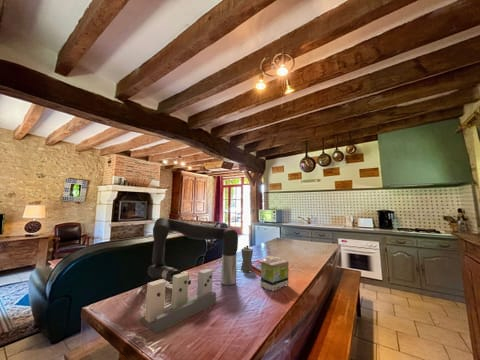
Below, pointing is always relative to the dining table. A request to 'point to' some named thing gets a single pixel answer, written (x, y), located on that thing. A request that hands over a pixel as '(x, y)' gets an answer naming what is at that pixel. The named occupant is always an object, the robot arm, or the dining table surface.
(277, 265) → the tea box
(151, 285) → the tile one
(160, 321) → the tile stand
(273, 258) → the candle holder
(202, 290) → the tile three
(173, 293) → the tile two
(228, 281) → the robot arm
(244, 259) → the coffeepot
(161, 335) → the dining table surface
